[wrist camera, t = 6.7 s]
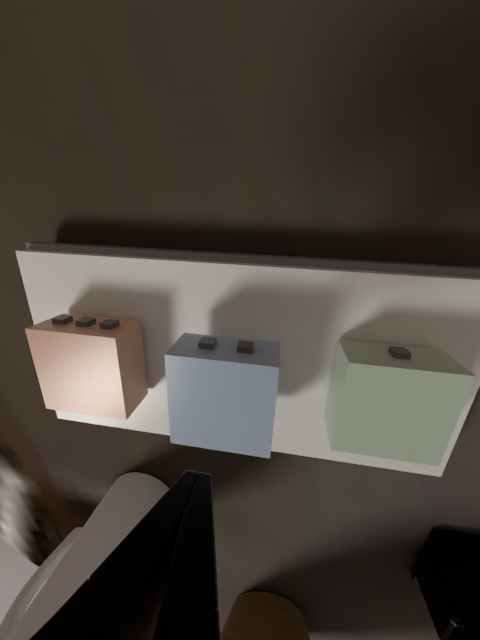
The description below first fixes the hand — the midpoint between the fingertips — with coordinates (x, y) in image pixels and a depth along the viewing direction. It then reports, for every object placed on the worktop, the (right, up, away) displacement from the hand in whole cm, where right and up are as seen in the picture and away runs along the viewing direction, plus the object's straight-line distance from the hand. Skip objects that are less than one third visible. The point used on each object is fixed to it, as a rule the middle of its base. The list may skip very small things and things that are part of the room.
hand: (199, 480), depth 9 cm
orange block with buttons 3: (-7, +3, +8) cm, 11 cm away
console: (+1, +3, +9) cm, 10 cm away
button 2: (+1, +2, +6) cm, 6 cm away
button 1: (+9, +2, +6) cm, 11 cm away
